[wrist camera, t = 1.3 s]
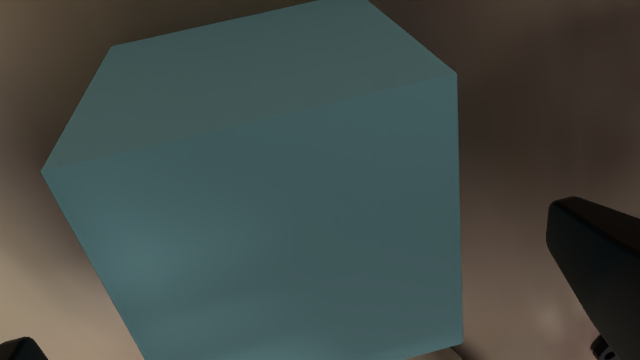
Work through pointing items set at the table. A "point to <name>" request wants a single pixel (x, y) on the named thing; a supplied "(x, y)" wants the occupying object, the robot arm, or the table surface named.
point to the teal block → (272, 188)
